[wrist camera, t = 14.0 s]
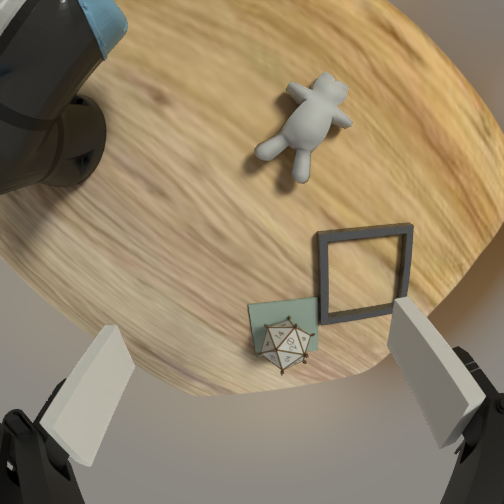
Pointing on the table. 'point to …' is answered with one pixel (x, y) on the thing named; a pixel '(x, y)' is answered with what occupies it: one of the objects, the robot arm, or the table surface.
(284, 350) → the game die
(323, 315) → the socket frame
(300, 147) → the grey teddy bear
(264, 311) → the pad
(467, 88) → the table surface
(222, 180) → the table surface
